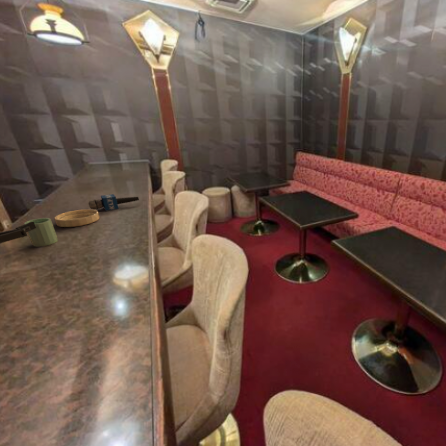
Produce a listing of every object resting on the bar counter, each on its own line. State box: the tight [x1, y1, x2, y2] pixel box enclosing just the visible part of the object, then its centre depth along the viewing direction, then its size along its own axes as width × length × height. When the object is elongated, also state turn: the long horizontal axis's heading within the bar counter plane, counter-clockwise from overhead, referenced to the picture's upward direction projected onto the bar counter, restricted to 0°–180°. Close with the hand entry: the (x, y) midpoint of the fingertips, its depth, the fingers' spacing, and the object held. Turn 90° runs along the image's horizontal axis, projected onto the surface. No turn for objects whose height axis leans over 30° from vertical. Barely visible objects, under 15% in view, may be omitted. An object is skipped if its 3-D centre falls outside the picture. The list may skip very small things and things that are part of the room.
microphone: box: [88, 193, 140, 212], centre depth 151 cm, size 8×8×25 cm
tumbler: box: [23, 217, 59, 248], centre depth 105 cm, size 8×8×10 cm
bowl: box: [54, 208, 101, 228], centre depth 129 cm, size 17×17×4 cm
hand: (13, 225), depth 93 cm, fingers open, 13 cm apart
